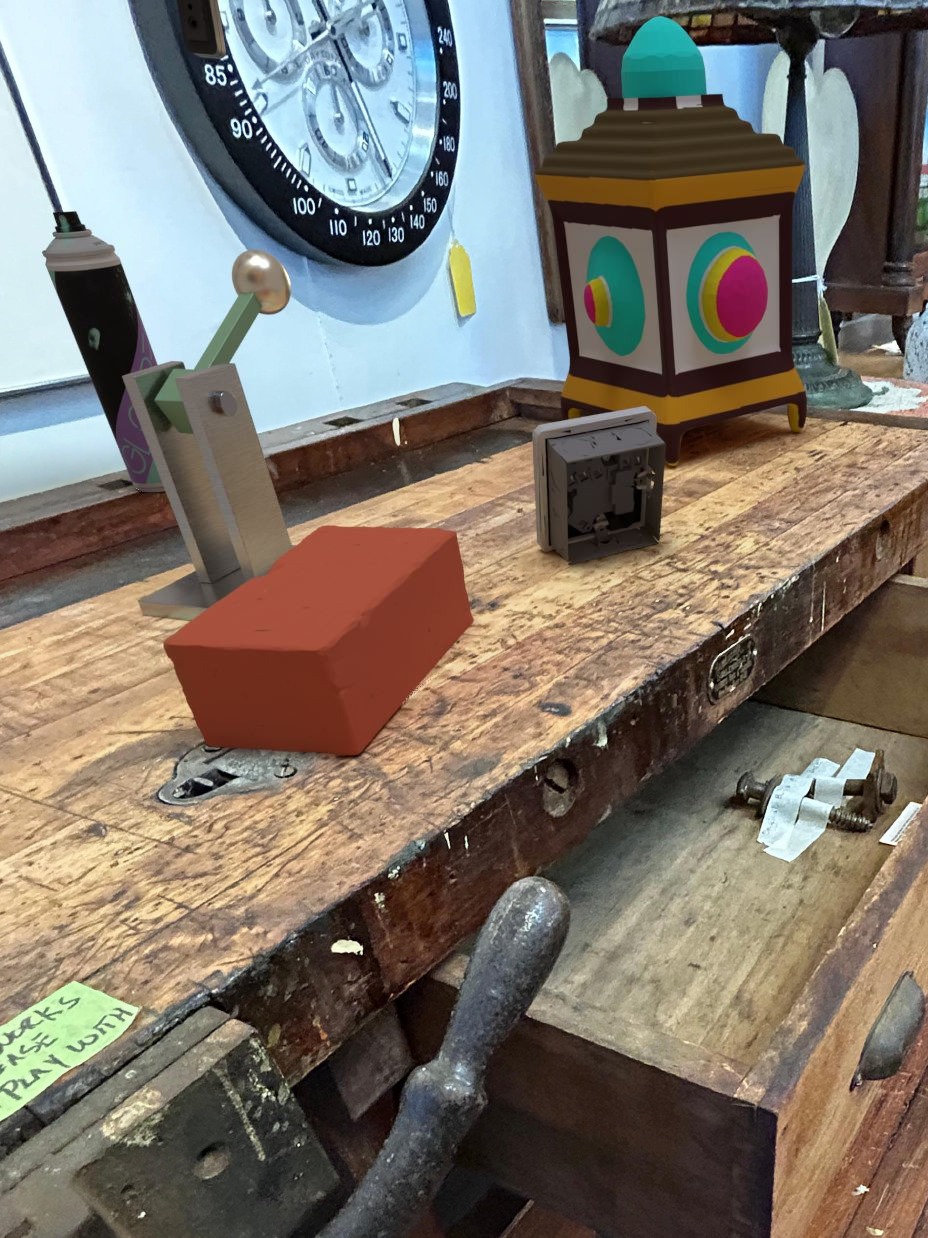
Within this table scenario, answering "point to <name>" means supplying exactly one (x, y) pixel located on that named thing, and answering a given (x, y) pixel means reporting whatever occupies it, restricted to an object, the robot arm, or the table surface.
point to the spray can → (104, 333)
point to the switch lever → (233, 323)
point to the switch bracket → (210, 486)
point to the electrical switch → (598, 483)
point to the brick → (324, 640)
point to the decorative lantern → (675, 250)
